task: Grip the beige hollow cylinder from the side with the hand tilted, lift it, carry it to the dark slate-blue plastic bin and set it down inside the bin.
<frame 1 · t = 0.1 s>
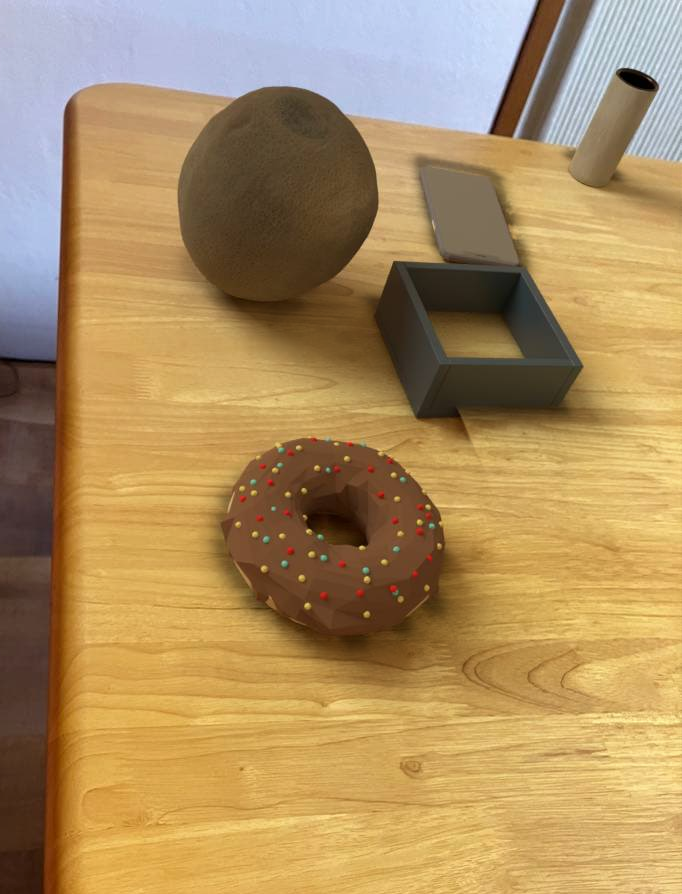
bin: (460, 365, 70), on the table
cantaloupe: (256, 287, 71), on the table
smartphone: (464, 222, 83), on the table
beige hollow cylinder: (586, 177, 95), on the table
donut: (323, 561, 55), on the table
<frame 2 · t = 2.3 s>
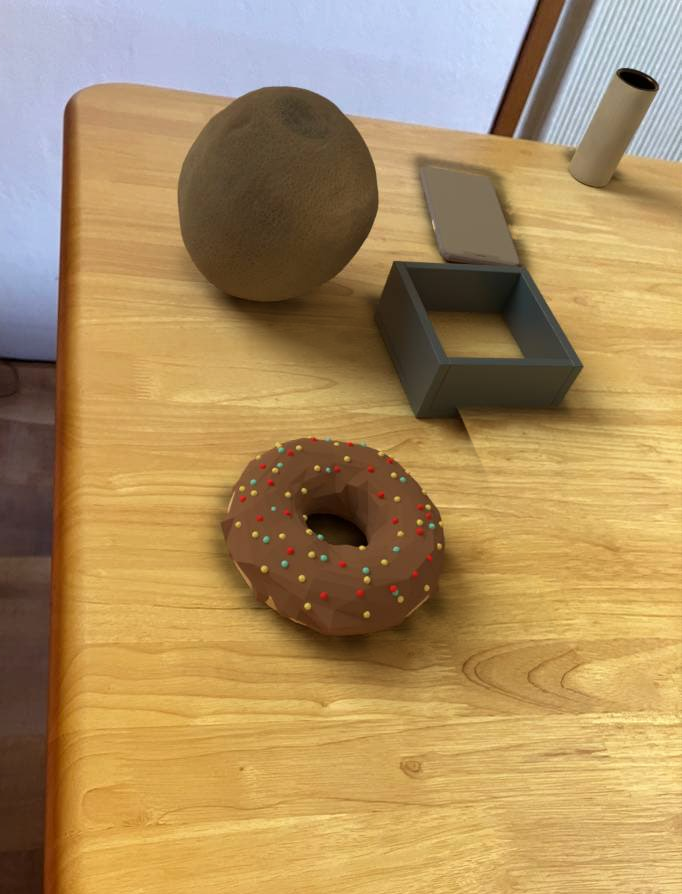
nothing on the table moved.
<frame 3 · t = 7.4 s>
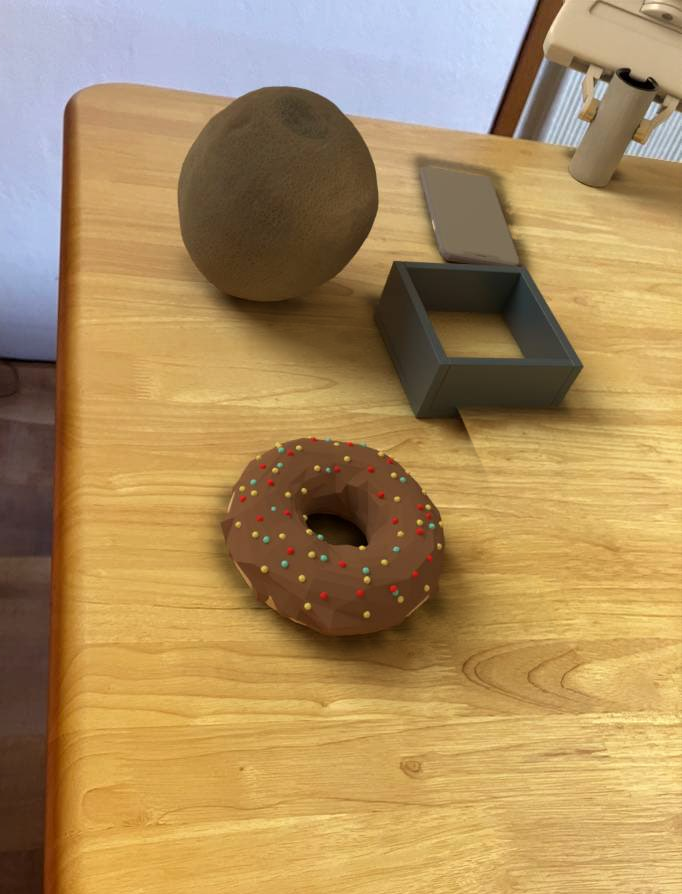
hand: (612, 129, 90), 5 cm above the table, tool tilted 45°, fingers closed on beige hollow cylinder, 4 cm apart
beige hollow cylinder: (586, 177, 95), on the table, touching gripper
everything else where it was.
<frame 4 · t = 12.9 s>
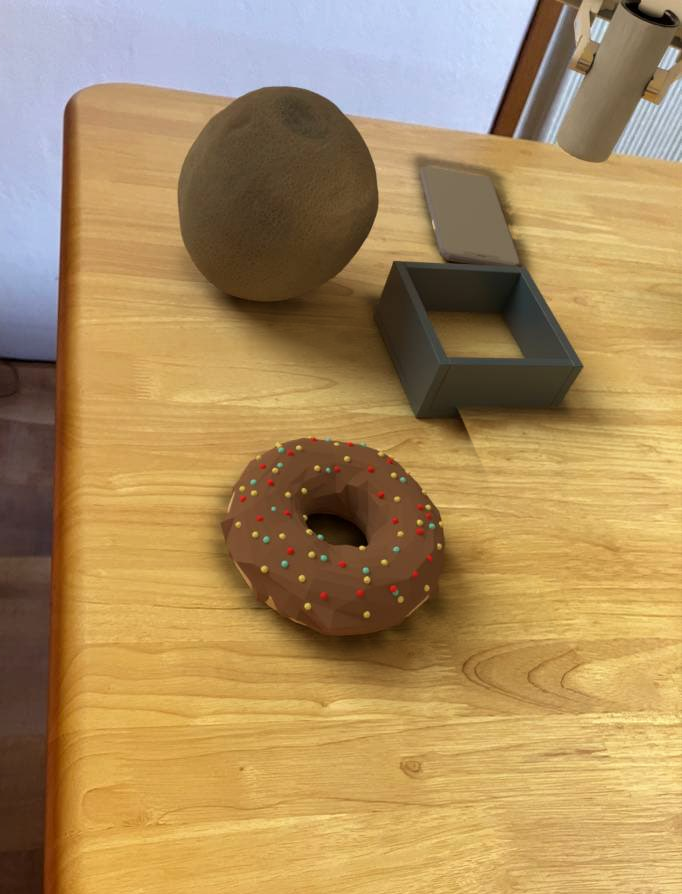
hand: (615, 84, 66), 17 cm above the table, tool tilted 45°, fingers closed on beige hollow cylinder, 4 cm apart
beige hollow cylinder: (580, 150, 71), point 12 cm above the table, touching gripper
everything else where it was.
when the fingers open (6 cm above the table, at t = 18.5 s): beige hollow cylinder stays where it is, resting on bin.
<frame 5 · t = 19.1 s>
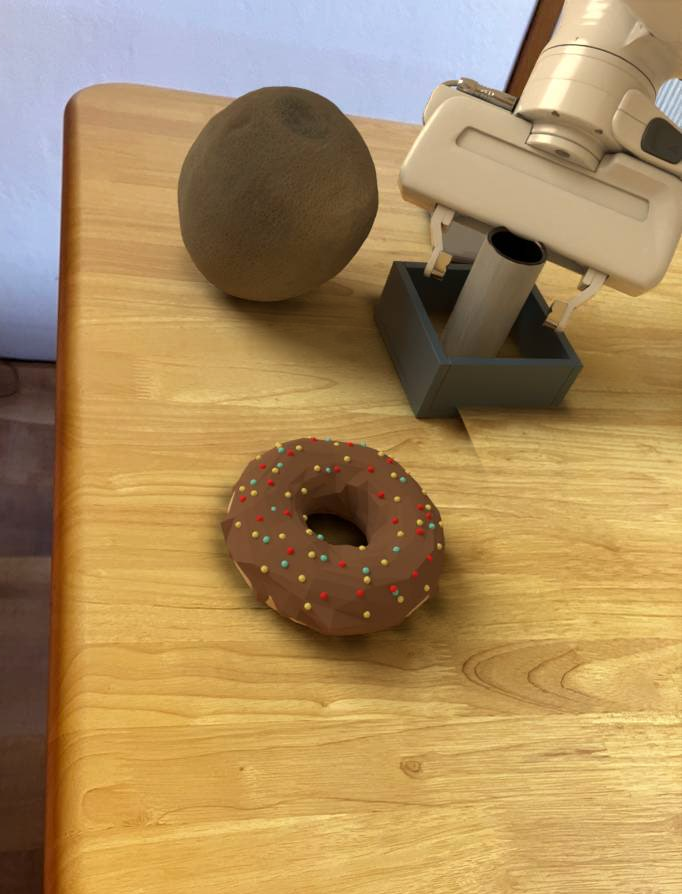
hand: (491, 302, 65), 7 cm above the table, tool tilted 45°, fingers open, 8 cm apart
beige hollow cylinder: (462, 358, 70), point 1 cm above the table, touching bin
everything else where it was.
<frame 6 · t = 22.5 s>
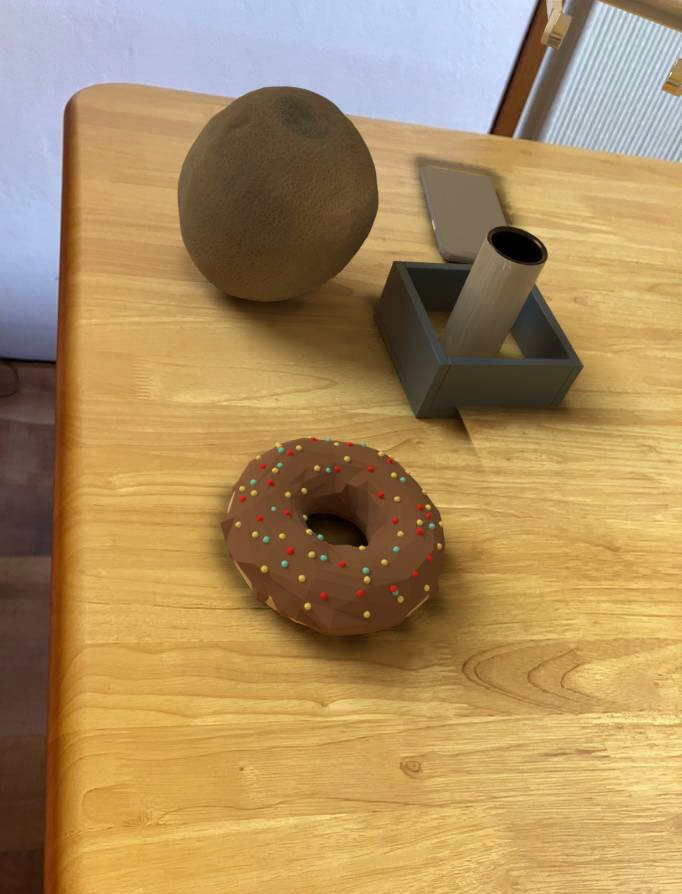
hand: (610, 66, 64), 19 cm above the table, tool tilted 45°, fingers open, 8 cm apart
nothing on the table moved.
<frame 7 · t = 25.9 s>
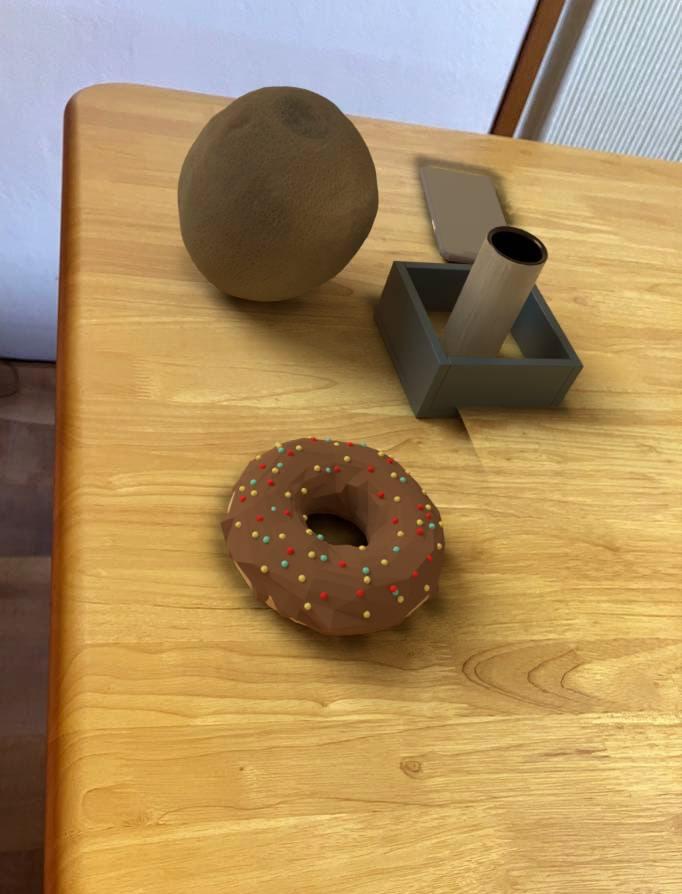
nothing on the table moved.
at the end: beige hollow cylinder inside the target area in the bin (0.1 cm from its centre), point 0.6 cm above the bin's base; beige hollow cylinder tilted 0°; the gripper is holding nothing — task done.
